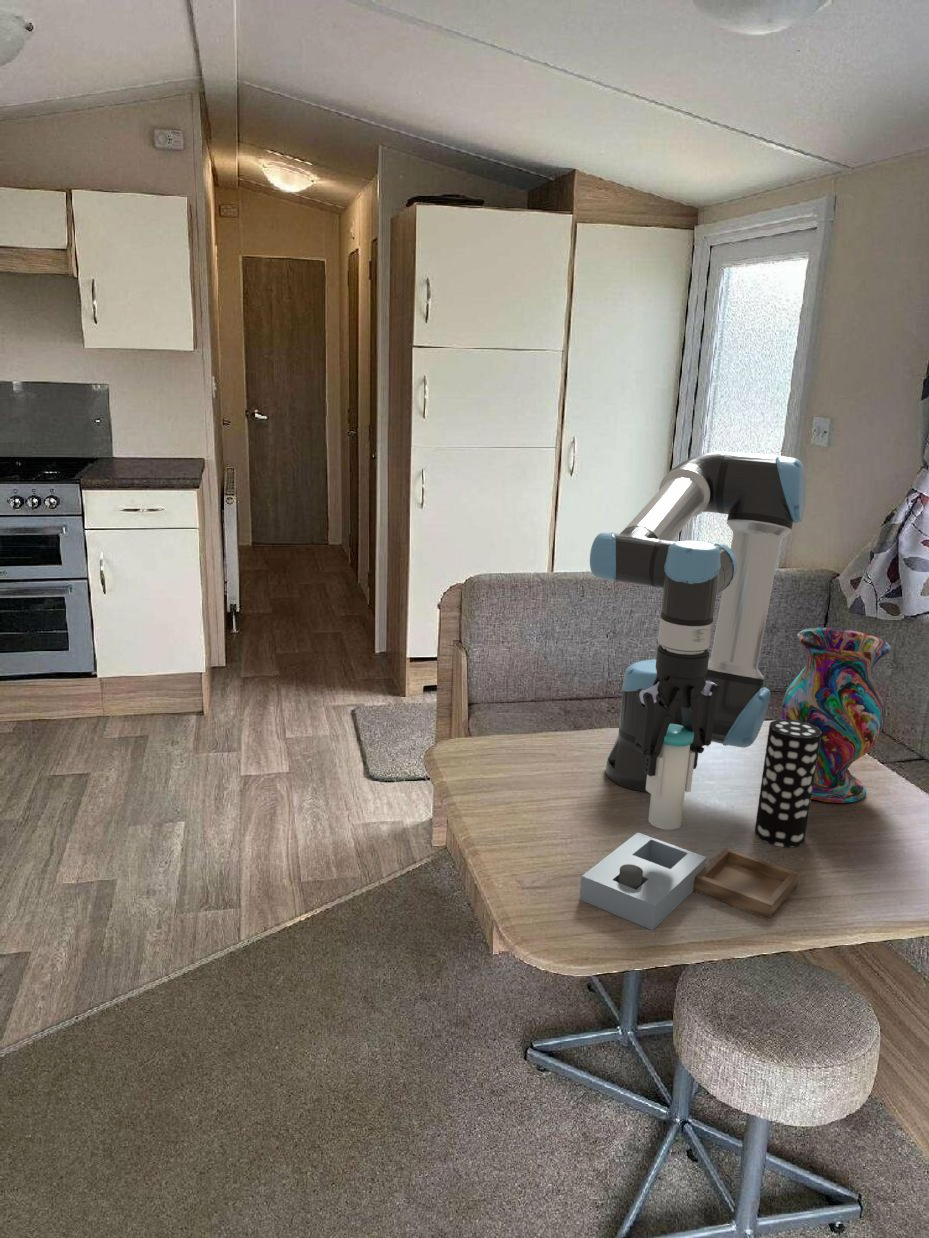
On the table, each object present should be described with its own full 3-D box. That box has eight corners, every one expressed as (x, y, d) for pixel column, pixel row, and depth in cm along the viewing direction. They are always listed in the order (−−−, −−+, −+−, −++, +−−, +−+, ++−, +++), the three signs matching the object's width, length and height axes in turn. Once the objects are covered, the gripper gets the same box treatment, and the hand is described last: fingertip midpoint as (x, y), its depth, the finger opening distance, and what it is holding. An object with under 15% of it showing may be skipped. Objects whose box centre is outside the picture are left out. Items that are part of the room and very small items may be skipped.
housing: (579, 899, 141) (581, 875, 140) (635, 854, 155) (637, 832, 154) (652, 930, 134) (655, 905, 133) (703, 879, 148) (706, 857, 147)
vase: (823, 814, 173) (848, 658, 165) (751, 774, 188) (771, 630, 180) (891, 797, 181) (918, 648, 173) (817, 760, 197) (839, 622, 189)
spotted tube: (804, 829, 166) (821, 724, 161) (804, 851, 159) (822, 741, 154) (755, 820, 169) (770, 716, 164) (753, 841, 161) (768, 732, 156)
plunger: (613, 897, 140) (615, 870, 139) (623, 888, 143) (626, 861, 142) (633, 906, 138) (636, 878, 137) (644, 896, 141) (647, 869, 140)
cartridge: (657, 832, 143) (667, 740, 139) (639, 815, 148) (648, 725, 144) (691, 827, 145) (701, 736, 141) (671, 810, 150) (680, 722, 146)
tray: (693, 890, 145) (695, 876, 145) (723, 860, 155) (725, 847, 154) (769, 919, 138) (771, 905, 138) (796, 886, 148) (798, 873, 147)
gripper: (645, 660, 132) (631, 810, 138) (749, 649, 139) (731, 792, 145) (617, 644, 139) (604, 788, 145) (717, 634, 145) (701, 772, 152)
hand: (668, 790), depth 145 cm, fingers closed on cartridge, 5 cm apart
